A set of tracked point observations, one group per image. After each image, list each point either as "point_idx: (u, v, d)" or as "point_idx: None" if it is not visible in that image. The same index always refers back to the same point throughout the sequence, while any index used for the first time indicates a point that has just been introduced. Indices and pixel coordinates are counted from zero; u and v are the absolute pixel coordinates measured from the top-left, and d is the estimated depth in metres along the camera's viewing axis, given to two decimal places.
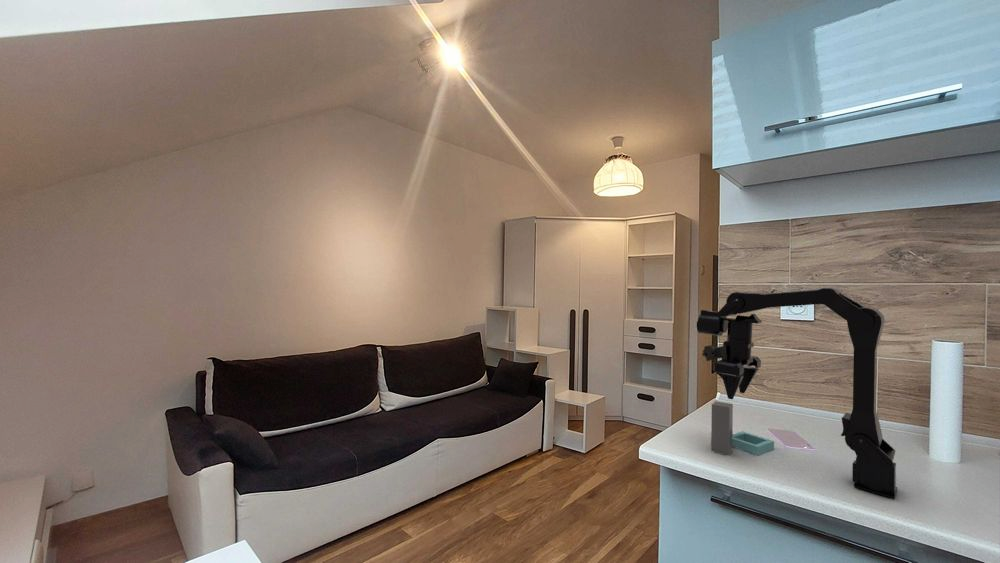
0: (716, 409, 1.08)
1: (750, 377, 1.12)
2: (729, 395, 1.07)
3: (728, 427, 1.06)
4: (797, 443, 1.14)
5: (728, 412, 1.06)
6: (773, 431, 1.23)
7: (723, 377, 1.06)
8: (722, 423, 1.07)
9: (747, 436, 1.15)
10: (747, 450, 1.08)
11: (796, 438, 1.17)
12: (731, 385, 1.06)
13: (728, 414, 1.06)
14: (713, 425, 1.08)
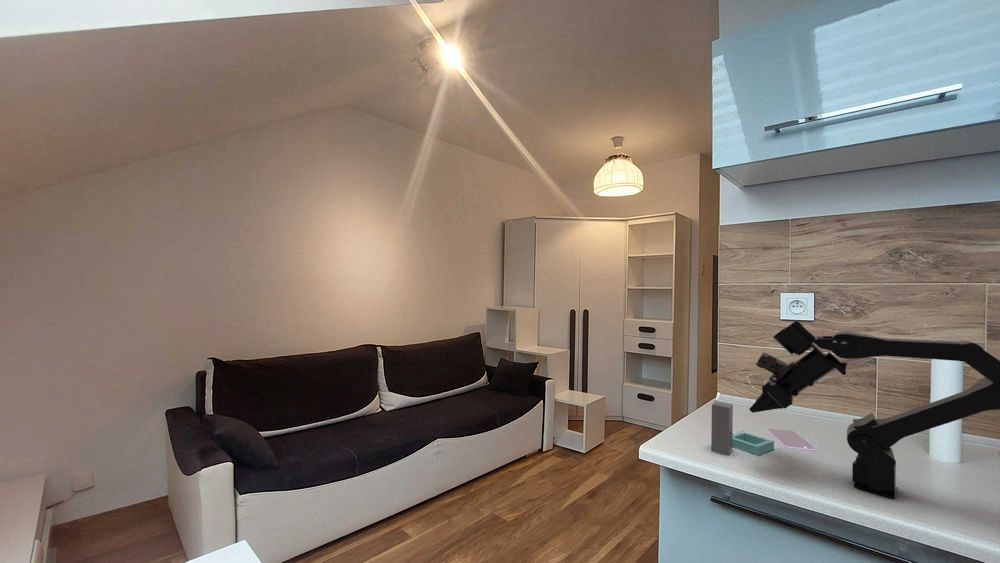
0: (716, 409, 1.08)
1: None
2: (752, 408, 1.00)
3: (728, 427, 1.06)
4: (796, 443, 1.14)
5: (728, 412, 1.06)
6: (773, 431, 1.23)
7: (764, 394, 0.97)
8: (722, 423, 1.07)
9: (747, 436, 1.15)
10: (747, 450, 1.08)
11: (796, 438, 1.17)
12: (764, 404, 0.98)
13: (728, 414, 1.06)
14: (713, 425, 1.08)
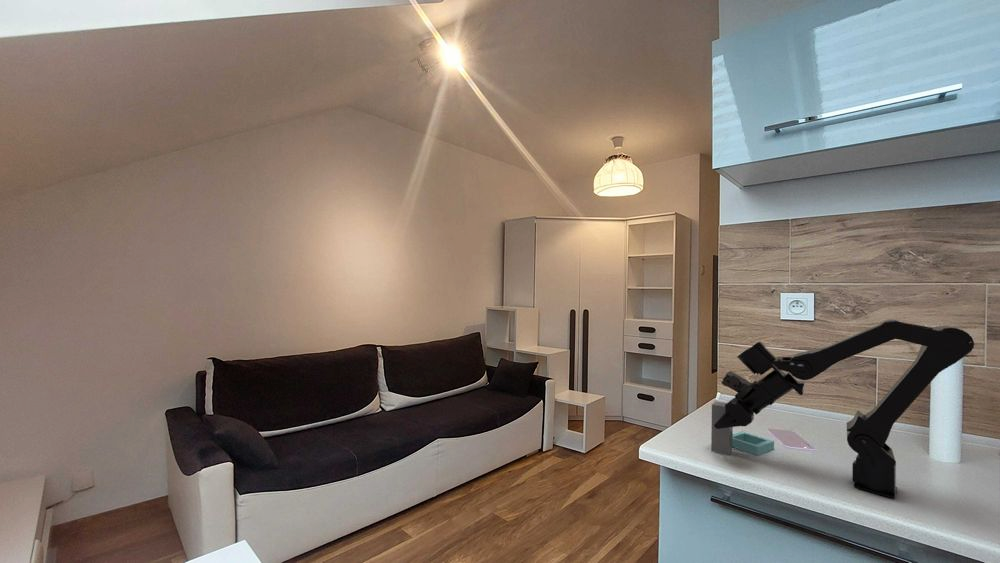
0: (716, 409, 1.08)
1: None
2: (717, 425, 1.05)
3: (728, 427, 1.06)
4: (796, 443, 1.14)
5: None
6: (773, 431, 1.23)
7: (727, 412, 1.02)
8: None
9: (747, 436, 1.15)
10: (747, 450, 1.08)
11: (796, 438, 1.17)
12: (727, 421, 1.03)
13: None
14: (713, 425, 1.08)
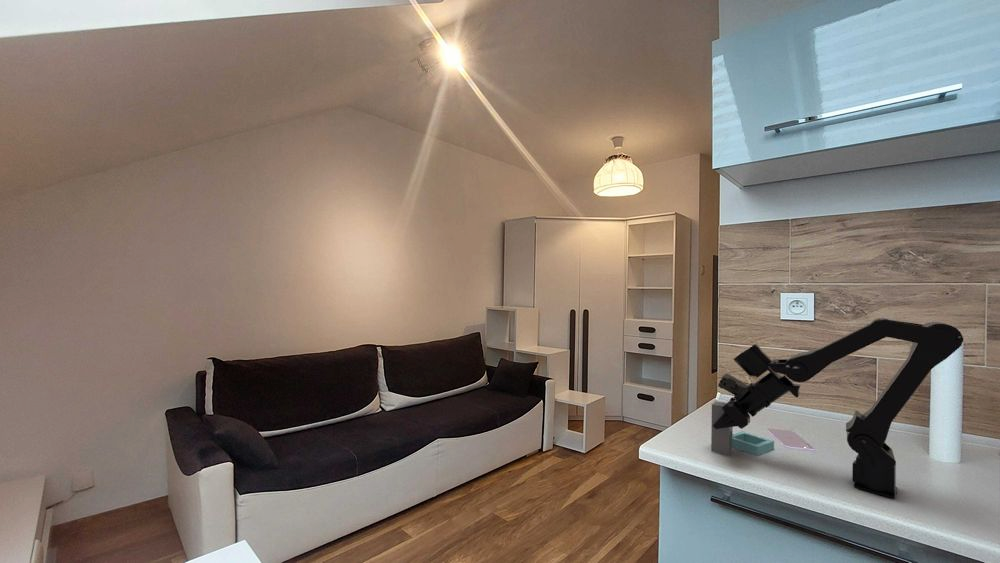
0: (716, 409, 1.08)
1: None
2: (716, 425, 1.07)
3: (728, 427, 1.06)
4: (796, 443, 1.14)
5: None
6: (773, 431, 1.23)
7: (725, 412, 1.05)
8: None
9: (747, 436, 1.15)
10: (747, 450, 1.08)
11: (796, 438, 1.18)
12: (726, 421, 1.05)
13: None
14: None
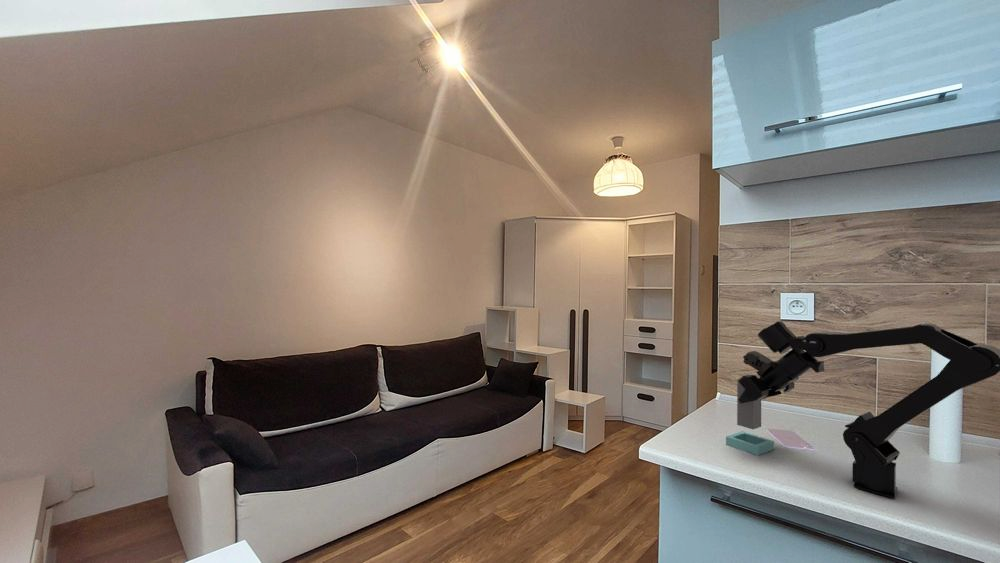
0: None
1: (766, 395, 1.11)
2: (740, 399, 1.11)
3: (752, 402, 1.09)
4: (796, 443, 1.14)
5: None
6: (772, 431, 1.23)
7: None
8: None
9: (747, 436, 1.15)
10: (747, 450, 1.08)
11: (795, 438, 1.18)
12: (749, 396, 1.09)
13: None
14: None
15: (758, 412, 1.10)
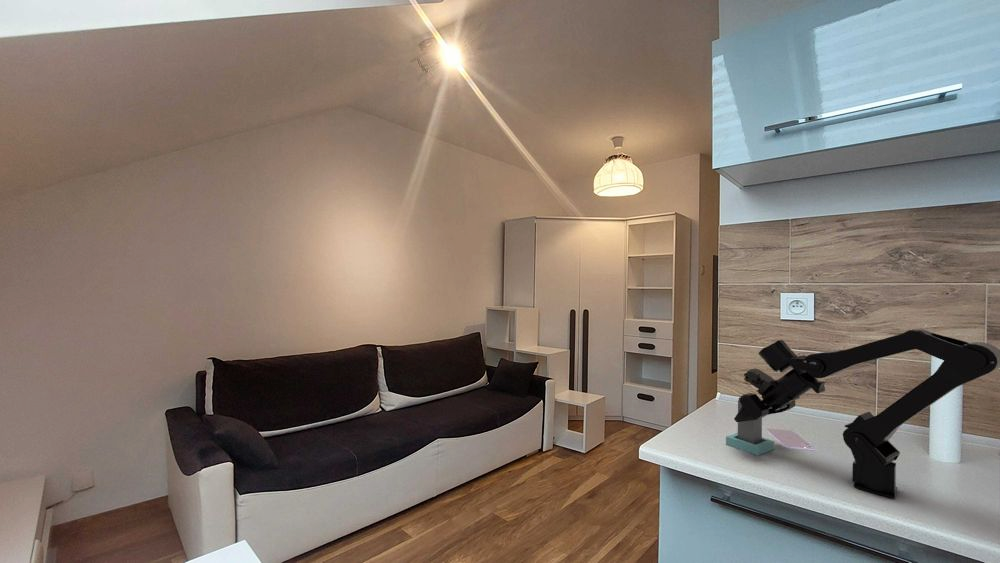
0: (741, 405, 1.12)
1: (771, 412, 1.12)
2: (736, 418, 1.10)
3: (753, 423, 1.09)
4: (796, 443, 1.14)
5: None
6: (772, 431, 1.23)
7: (743, 406, 1.07)
8: None
9: None
10: (747, 450, 1.08)
11: (795, 438, 1.18)
12: (744, 415, 1.08)
13: None
14: None
15: (758, 433, 1.11)
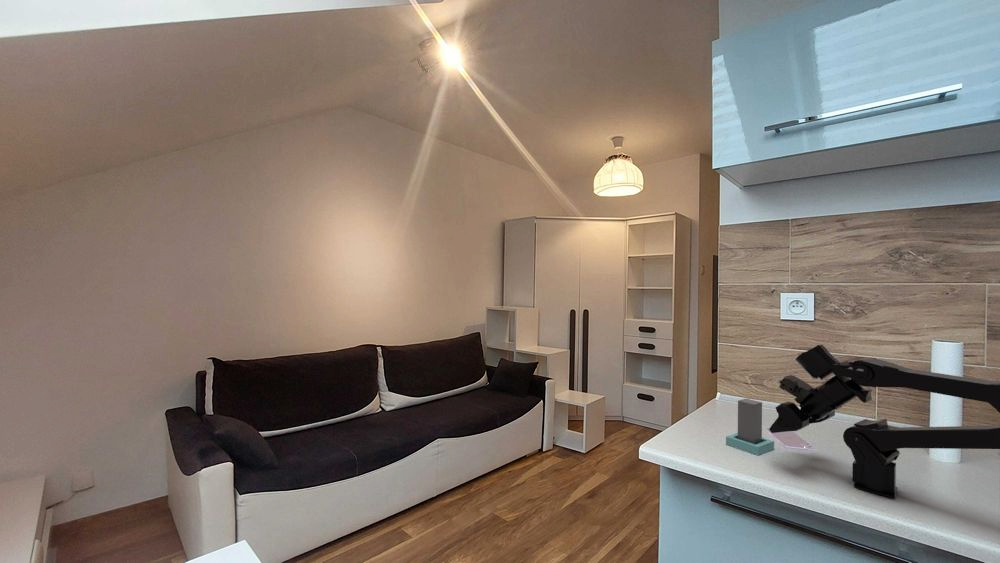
0: (741, 405, 1.12)
1: (808, 422, 1.04)
2: (772, 428, 1.03)
3: (753, 423, 1.09)
4: (796, 443, 1.14)
5: (753, 409, 1.09)
6: None
7: (780, 416, 1.00)
8: (747, 419, 1.10)
9: None
10: (747, 450, 1.08)
11: (795, 438, 1.18)
12: (781, 426, 1.00)
13: (753, 411, 1.09)
14: (739, 421, 1.12)
15: (758, 433, 1.11)
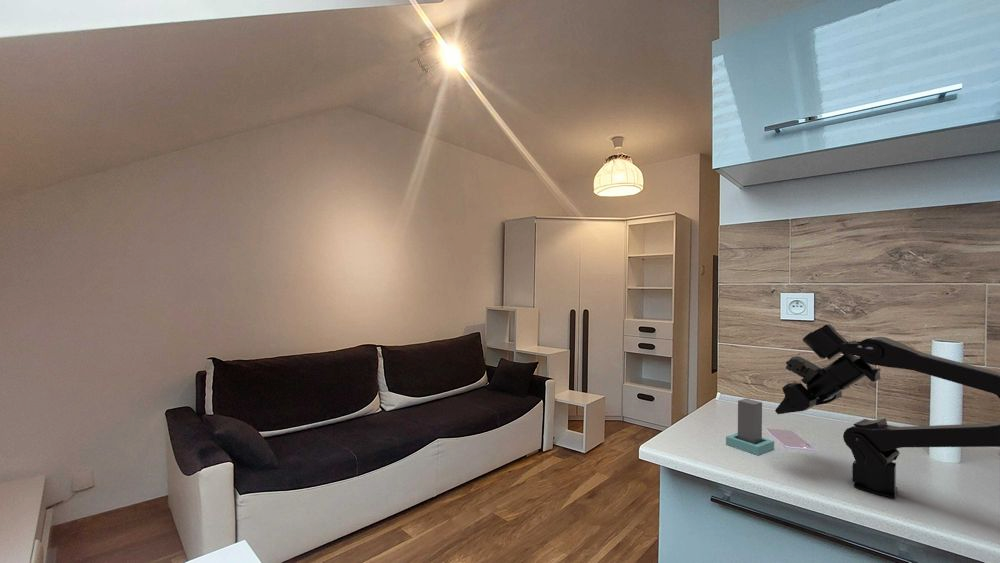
0: (741, 405, 1.12)
1: None
2: (778, 410, 1.01)
3: (753, 423, 1.09)
4: (796, 443, 1.14)
5: (753, 409, 1.09)
6: (772, 431, 1.23)
7: (786, 396, 0.98)
8: (747, 419, 1.10)
9: None
10: (747, 450, 1.08)
11: (795, 438, 1.18)
12: (788, 406, 0.99)
13: (753, 411, 1.09)
14: (739, 421, 1.12)
15: (758, 433, 1.11)
